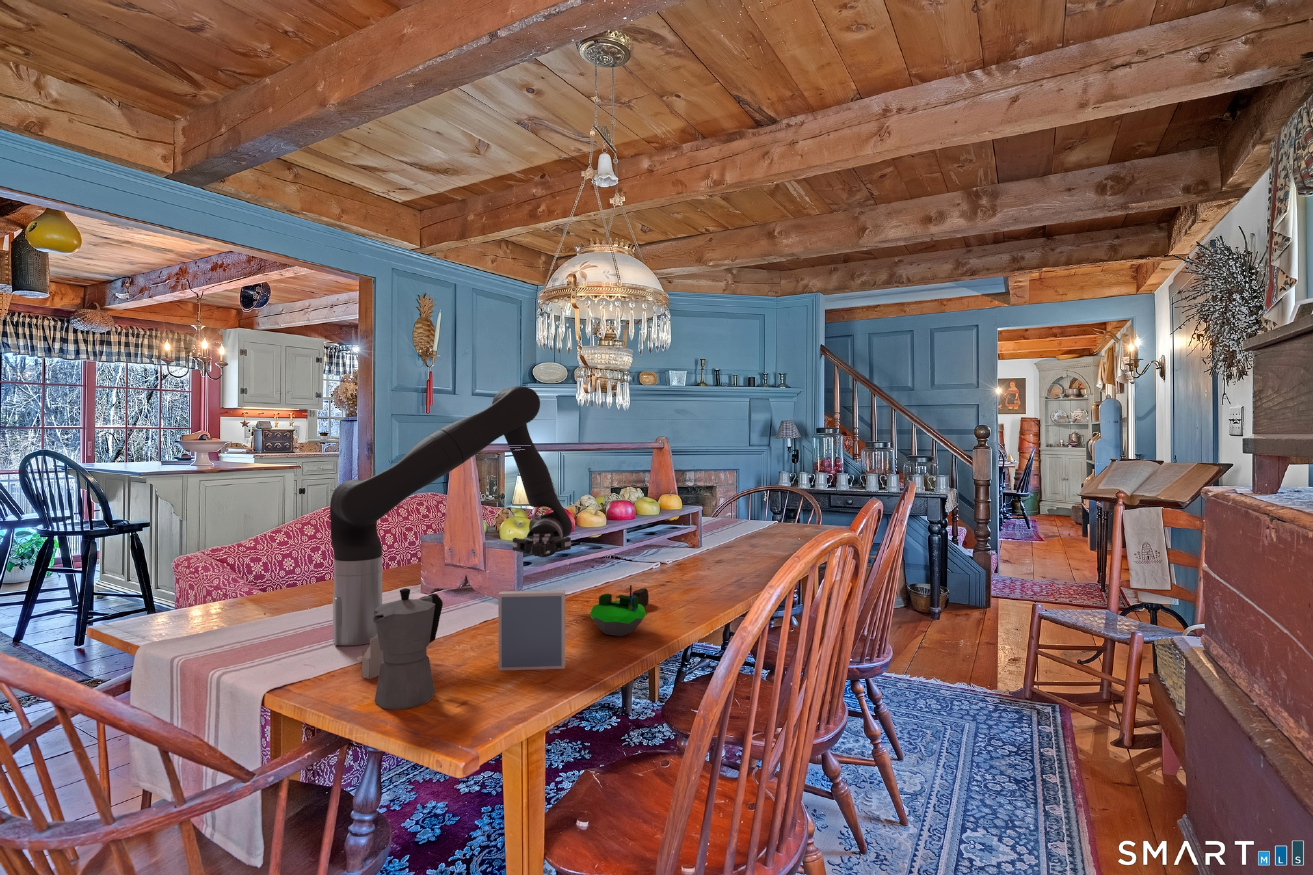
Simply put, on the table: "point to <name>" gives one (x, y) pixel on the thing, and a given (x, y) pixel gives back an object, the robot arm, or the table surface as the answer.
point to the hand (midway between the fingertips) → (538, 551)
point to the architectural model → (371, 659)
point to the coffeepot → (406, 650)
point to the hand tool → (641, 596)
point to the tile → (531, 630)
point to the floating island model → (618, 614)
